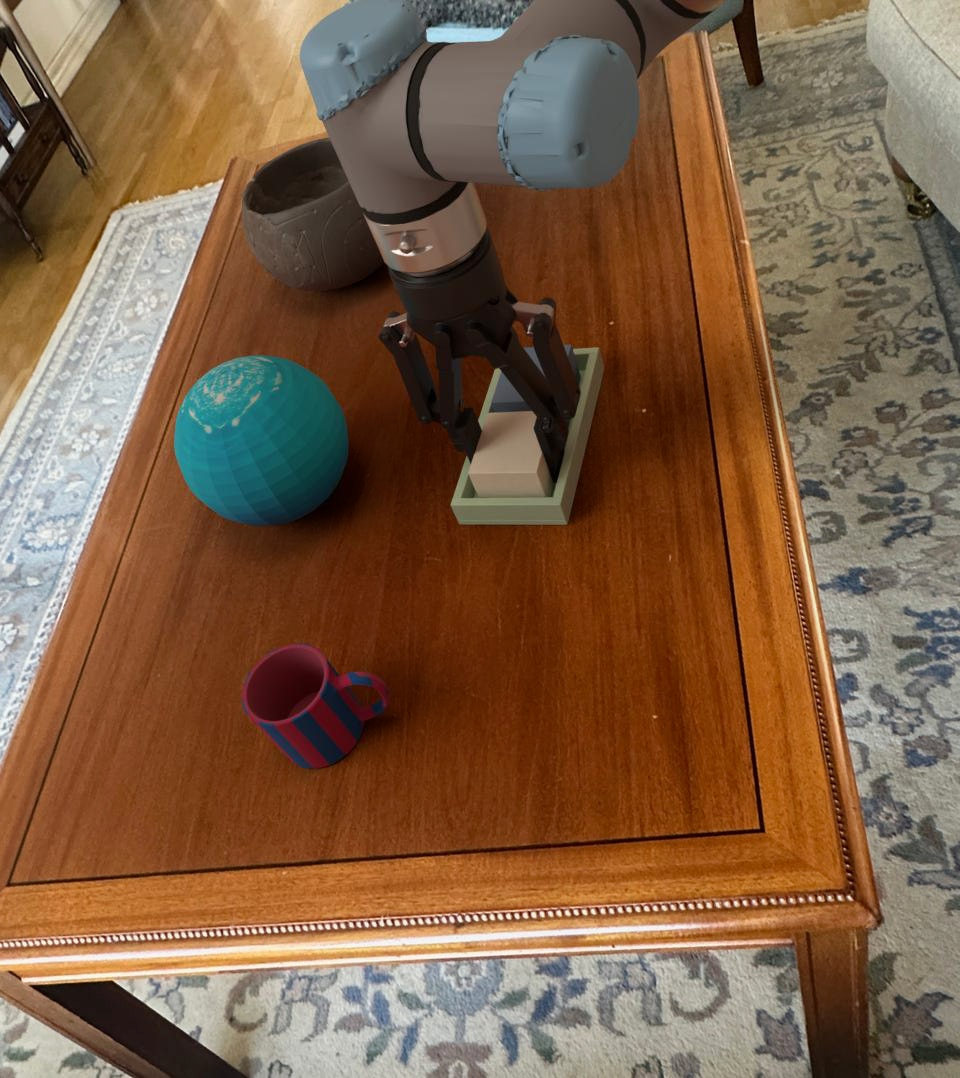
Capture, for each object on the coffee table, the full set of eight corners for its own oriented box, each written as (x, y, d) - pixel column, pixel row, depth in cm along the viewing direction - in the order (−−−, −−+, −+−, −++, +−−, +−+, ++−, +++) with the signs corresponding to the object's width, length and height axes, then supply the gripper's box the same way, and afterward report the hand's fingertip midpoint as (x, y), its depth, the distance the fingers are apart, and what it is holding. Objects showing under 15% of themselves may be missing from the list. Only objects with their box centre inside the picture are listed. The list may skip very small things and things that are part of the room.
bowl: (254, 285, 118) (202, 193, 109) (372, 205, 122) (331, 110, 113) (323, 340, 107) (271, 242, 97) (451, 250, 110) (413, 148, 101)
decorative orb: (380, 425, 95) (316, 302, 84) (366, 544, 85) (293, 423, 74) (240, 455, 98) (161, 340, 87) (212, 573, 89) (120, 461, 78)
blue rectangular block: (519, 380, 92) (508, 348, 89) (581, 377, 90) (571, 343, 87) (503, 434, 88) (490, 402, 85) (567, 432, 86) (556, 399, 83)
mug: (294, 691, 77) (255, 645, 72) (412, 686, 74) (380, 638, 69) (273, 770, 73) (230, 726, 68) (396, 768, 70) (361, 723, 65)
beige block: (499, 444, 87) (487, 412, 84) (564, 442, 85) (553, 409, 82) (481, 504, 83) (467, 473, 80) (548, 504, 81) (537, 472, 78)
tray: (507, 374, 94) (499, 353, 92) (604, 368, 91) (599, 346, 89) (459, 524, 84) (449, 505, 82) (567, 525, 80) (560, 504, 78)
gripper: (298, 292, 68) (411, 505, 85) (558, 267, 61) (624, 504, 78) (333, 227, 73) (433, 442, 90) (579, 196, 66) (638, 436, 83)
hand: (522, 471), depth 84 cm, fingers closed on beige block, 6 cm apart
